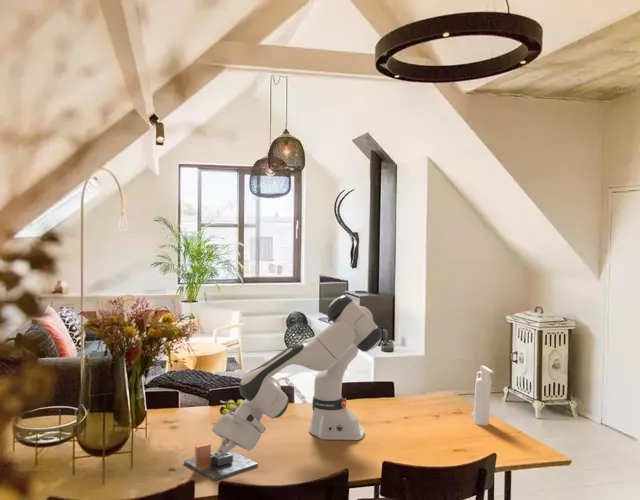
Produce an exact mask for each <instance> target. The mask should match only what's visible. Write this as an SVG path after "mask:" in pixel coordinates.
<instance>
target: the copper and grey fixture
mask: <svg viewBox="0 0 640 500" xmlns="http://www.w3.org/2000/svg"><path fill="white" fill-rule="evenodd" d="M211 445H212V444H210V443H205V444H200V445H196V446H195V447H194V448H195V449H194V458H195V467H196V468H200V467H204V466H208V465H211V464H215V465H217V466H220V465H224V464H228V463H232V462H233V455H232V454H230V453H229V452H228V453H227V454H226V456H222V457H218V456H217V452H216V451H213V452H211V451H212V450H211V449H212V447H211Z"/></svg>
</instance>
